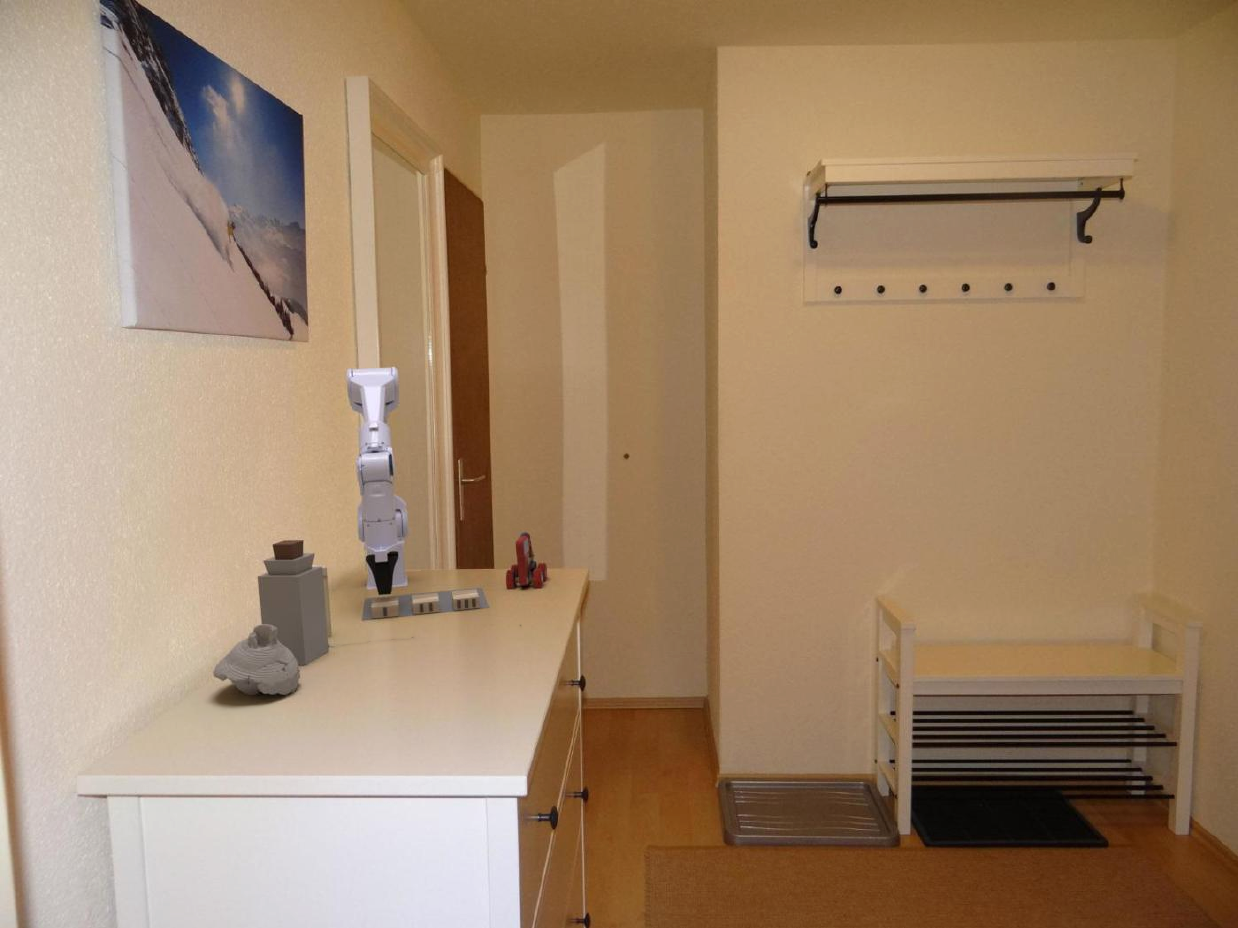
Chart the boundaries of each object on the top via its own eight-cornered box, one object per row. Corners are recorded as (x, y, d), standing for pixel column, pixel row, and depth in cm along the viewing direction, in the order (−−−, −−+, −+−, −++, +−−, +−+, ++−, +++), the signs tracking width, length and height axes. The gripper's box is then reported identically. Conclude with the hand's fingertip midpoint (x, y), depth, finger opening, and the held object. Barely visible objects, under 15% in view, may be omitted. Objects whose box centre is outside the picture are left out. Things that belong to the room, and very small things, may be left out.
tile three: (451, 591, 168) (453, 599, 162) (476, 589, 169) (479, 596, 163) (452, 602, 168) (454, 611, 162) (476, 600, 169) (479, 608, 163)
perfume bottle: (305, 665, 137) (296, 546, 135) (265, 664, 139) (255, 546, 137) (328, 651, 144) (319, 537, 142) (289, 650, 145) (280, 538, 143)
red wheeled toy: (549, 578, 187) (546, 528, 186) (540, 593, 175) (537, 540, 174) (515, 579, 188) (512, 529, 186) (504, 594, 175) (501, 541, 174)
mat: (365, 601, 174) (364, 598, 174) (481, 590, 179) (481, 587, 179) (361, 623, 159) (361, 620, 159) (489, 610, 164) (489, 607, 164)
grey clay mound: (320, 699, 130) (328, 632, 127) (246, 729, 120) (253, 656, 117) (268, 664, 136) (275, 599, 133) (193, 689, 126) (199, 620, 123)
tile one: (372, 599, 165) (371, 607, 159) (398, 596, 166) (398, 604, 160) (373, 610, 165) (372, 619, 159) (398, 608, 166) (398, 616, 160)
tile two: (412, 595, 166) (412, 603, 160) (437, 592, 167) (438, 600, 161) (412, 606, 166) (413, 615, 160) (438, 604, 167) (439, 612, 161)
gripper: (402, 523, 158) (408, 601, 159) (402, 511, 172) (407, 582, 173) (360, 527, 156) (366, 605, 158) (363, 514, 170) (368, 586, 172)
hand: (384, 593), depth 165 cm, fingers closed
